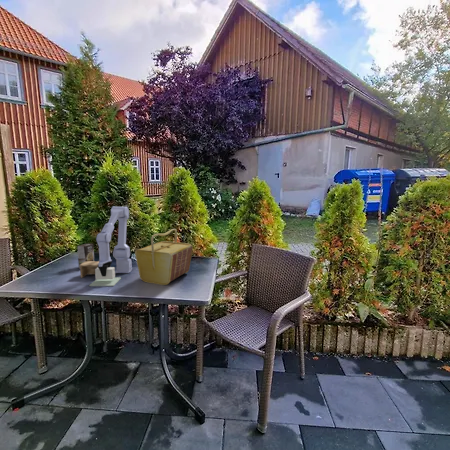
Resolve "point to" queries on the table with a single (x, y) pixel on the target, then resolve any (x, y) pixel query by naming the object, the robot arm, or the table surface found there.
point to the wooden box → (88, 267)
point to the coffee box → (85, 253)
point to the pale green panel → (105, 282)
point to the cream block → (109, 273)
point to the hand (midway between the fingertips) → (105, 274)
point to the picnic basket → (163, 260)
